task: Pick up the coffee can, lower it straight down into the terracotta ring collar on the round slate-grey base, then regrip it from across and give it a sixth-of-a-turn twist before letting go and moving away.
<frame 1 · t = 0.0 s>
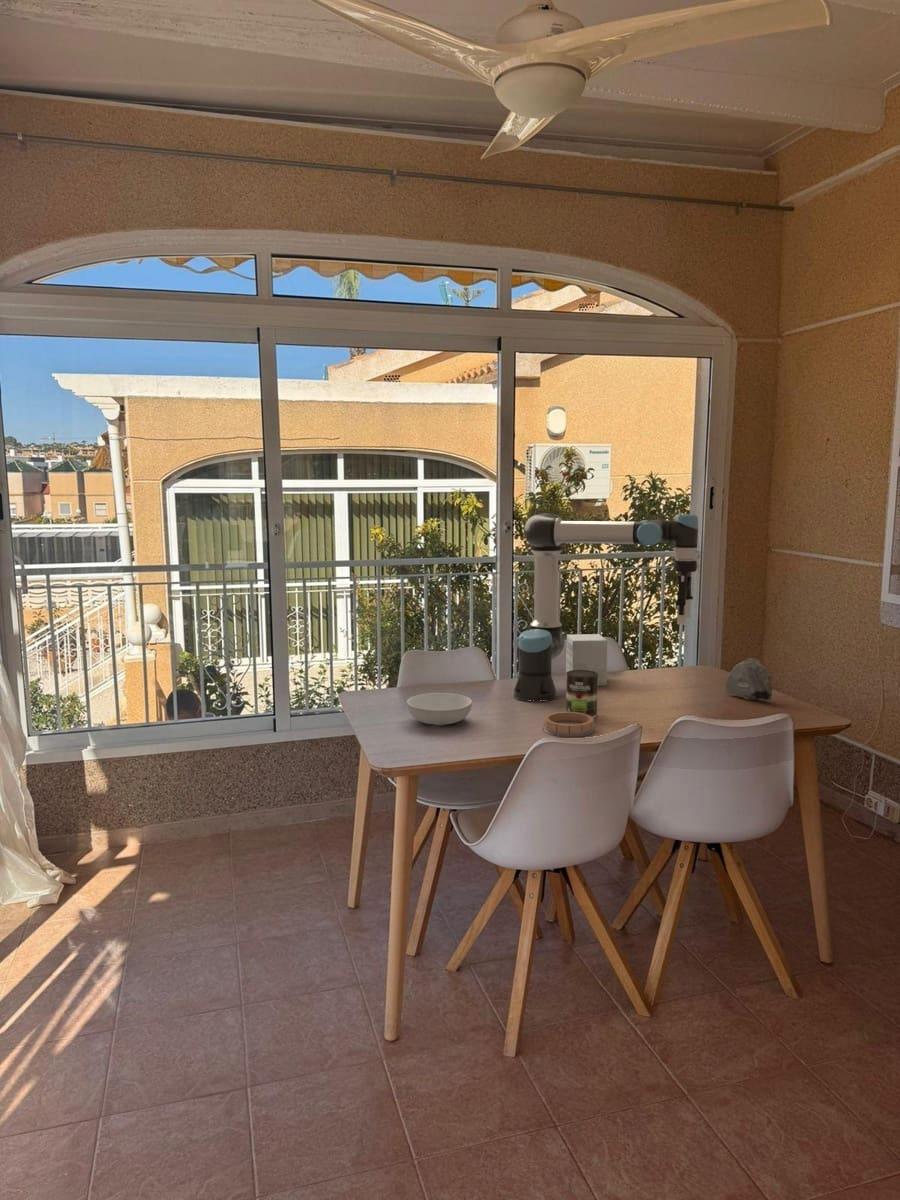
hand: (683, 621, 281), 28 cm above the table, tool pointing down, fingers open, 13 cm apart
supplement box: (585, 682, 312), on the table
serving bowl: (439, 722, 262), on the table
collar: (568, 729, 252), on the table
decorative rock: (747, 699, 285), on the table
coffee can: (581, 715, 268), on the table
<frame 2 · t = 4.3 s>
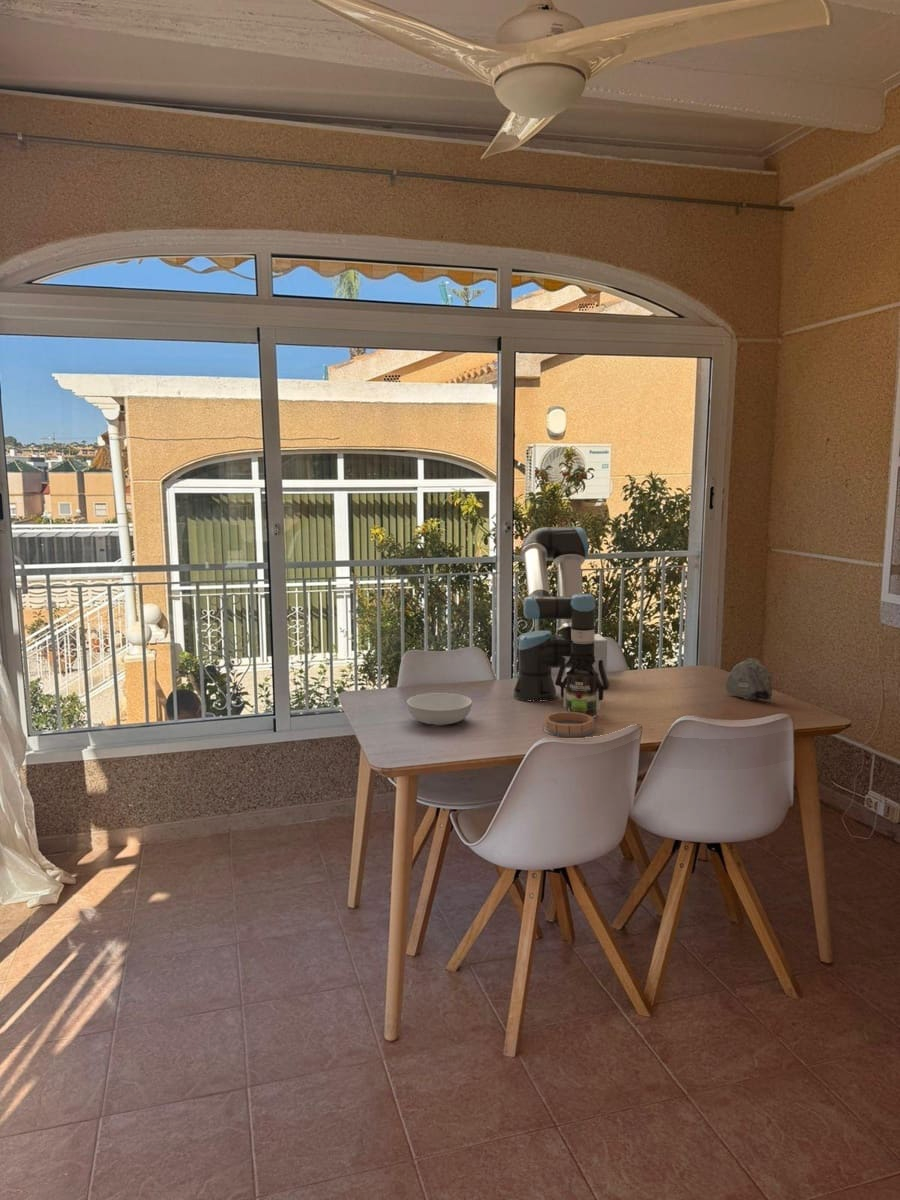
hand: (581, 708, 267), 2 cm above the table, tool pointing down, fingers closed on coffee can, 10 cm apart
coffee can: (581, 715, 268), on the table, touching gripper
everything else where it was.
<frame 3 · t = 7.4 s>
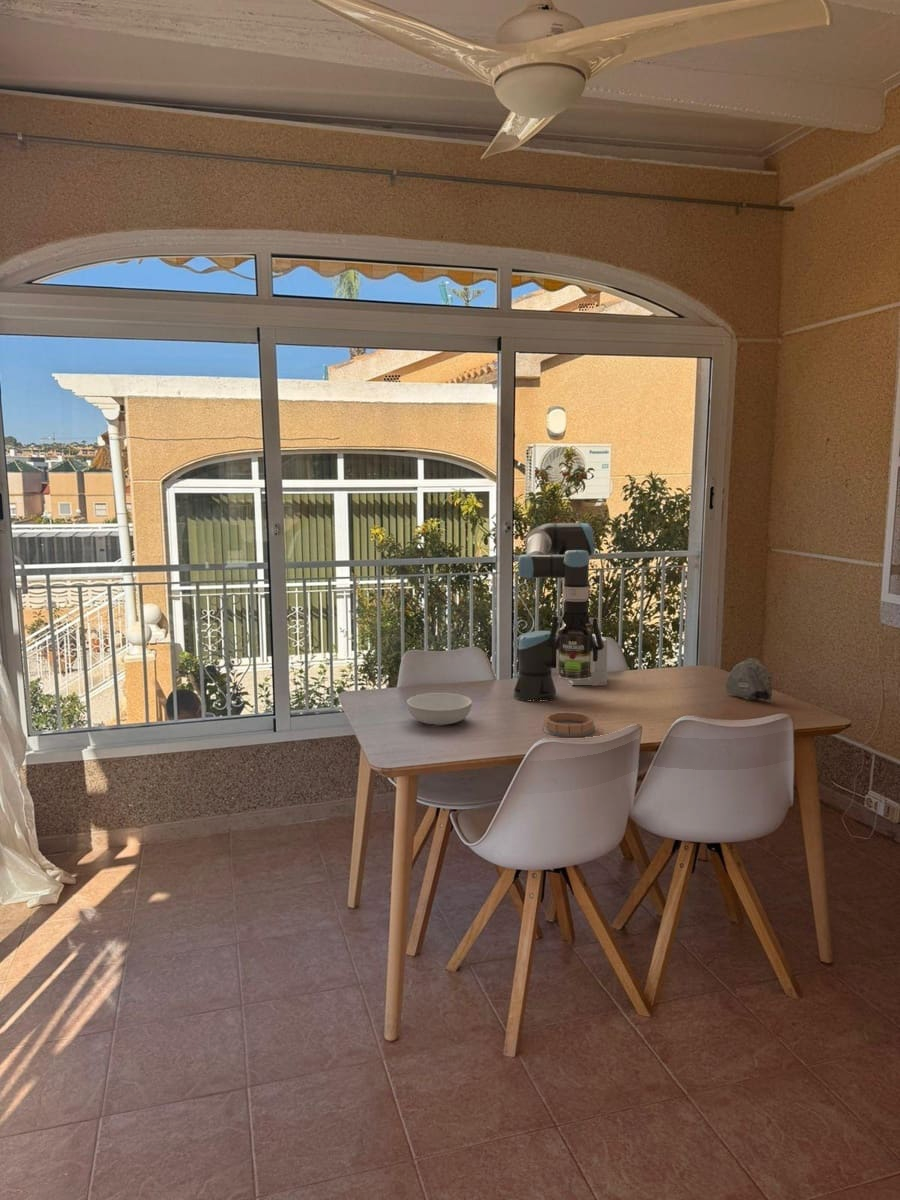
hand: (575, 670, 255), 17 cm above the table, tool pointing down, fingers closed on coffee can, 10 cm apart
coffee can: (575, 678, 256), point 15 cm above the table, touching gripper
everything else where it was.
when the fingers open (5 cm above the table, at t = 10.7 s): coffee can drops 1 cm, resting on collar.
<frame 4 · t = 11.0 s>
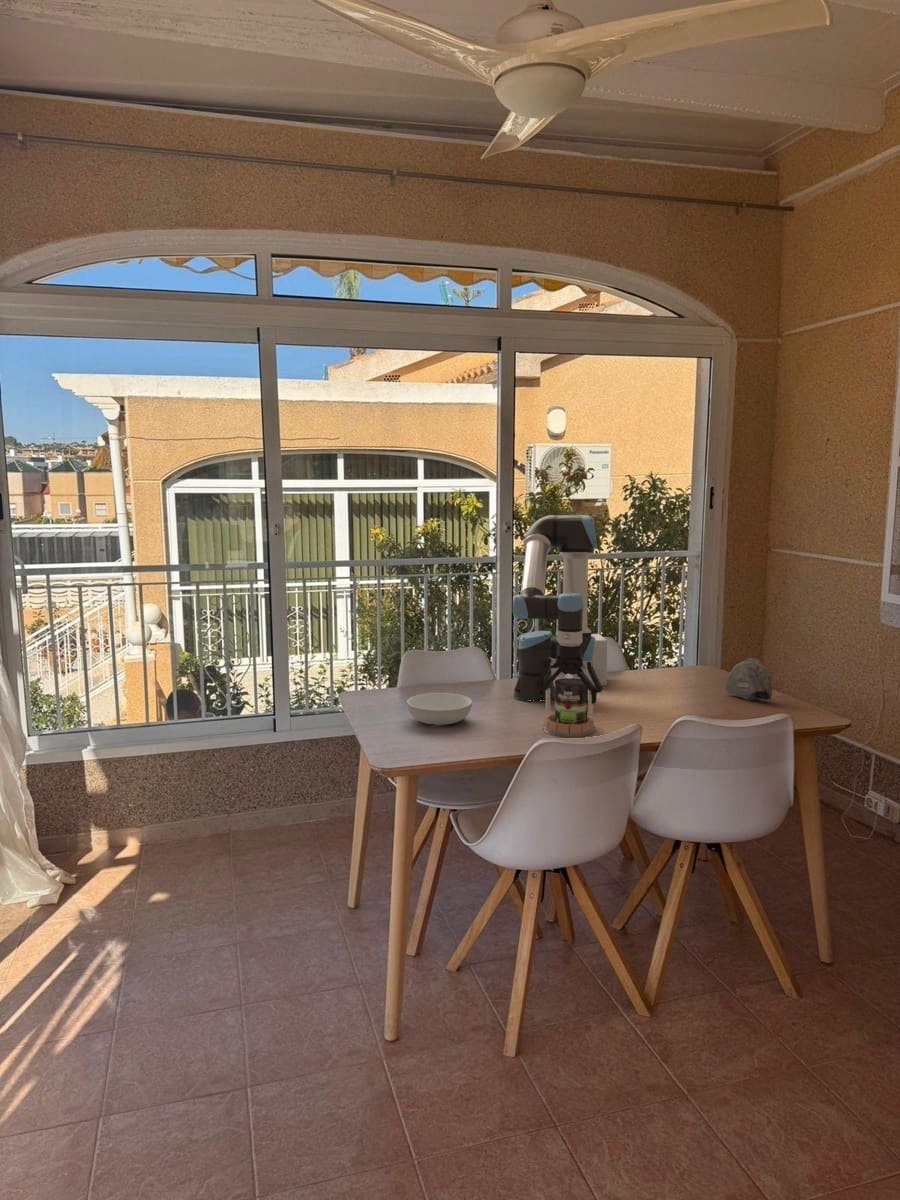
hand: (569, 711, 251), 6 cm above the table, tool pointing down, fingers open, 13 cm apart
coffee can: (571, 726, 252), point 1 cm above the table, touching collar
everything else where it was.
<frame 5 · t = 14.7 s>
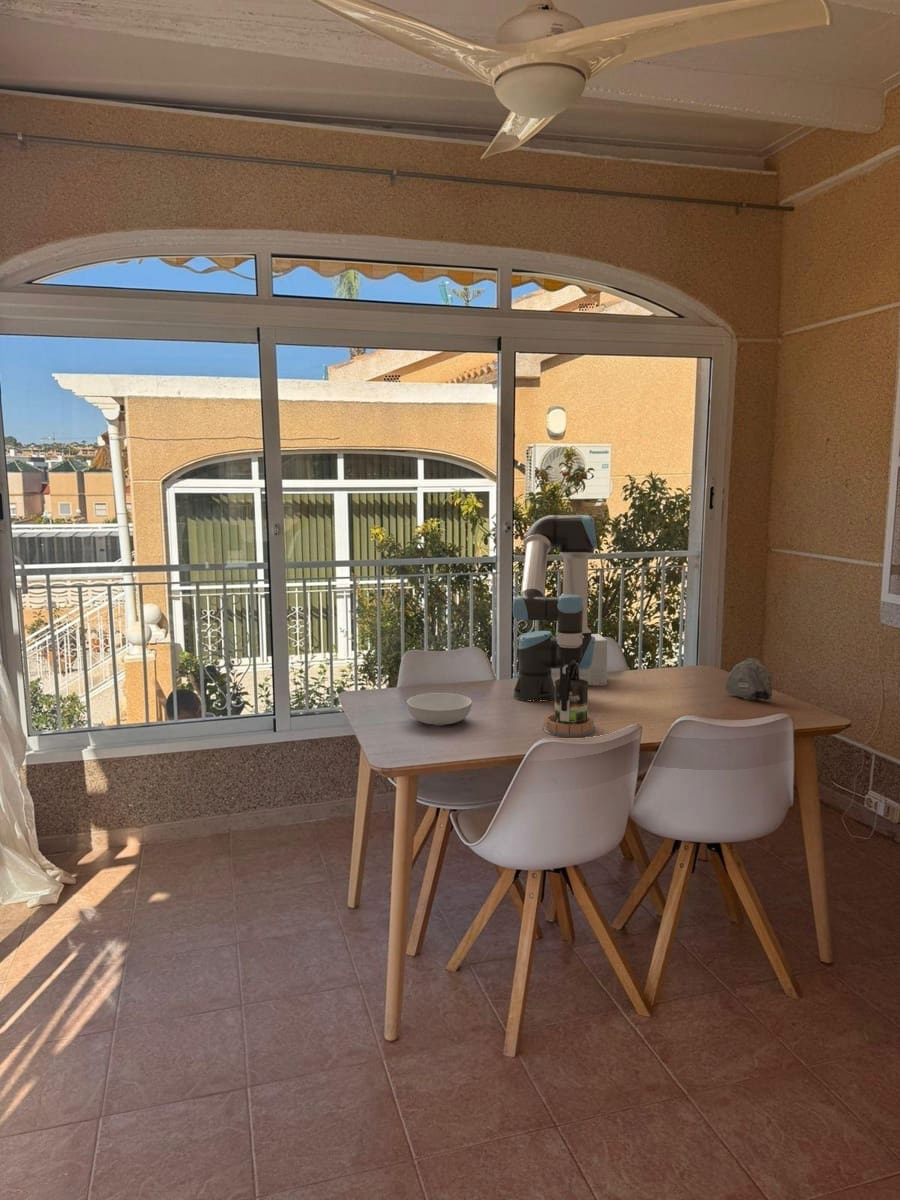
hand: (569, 716, 252), 4 cm above the table, tool pointing down, fingers closed on coffee can, 10 cm apart
coffee can: (571, 726, 252), point 1 cm above the table, touching collar, gripper
everything else where it was.
when the fingers open (4 cm above the table, at t = 15.9 s): coffee can stays where it is, resting on collar.
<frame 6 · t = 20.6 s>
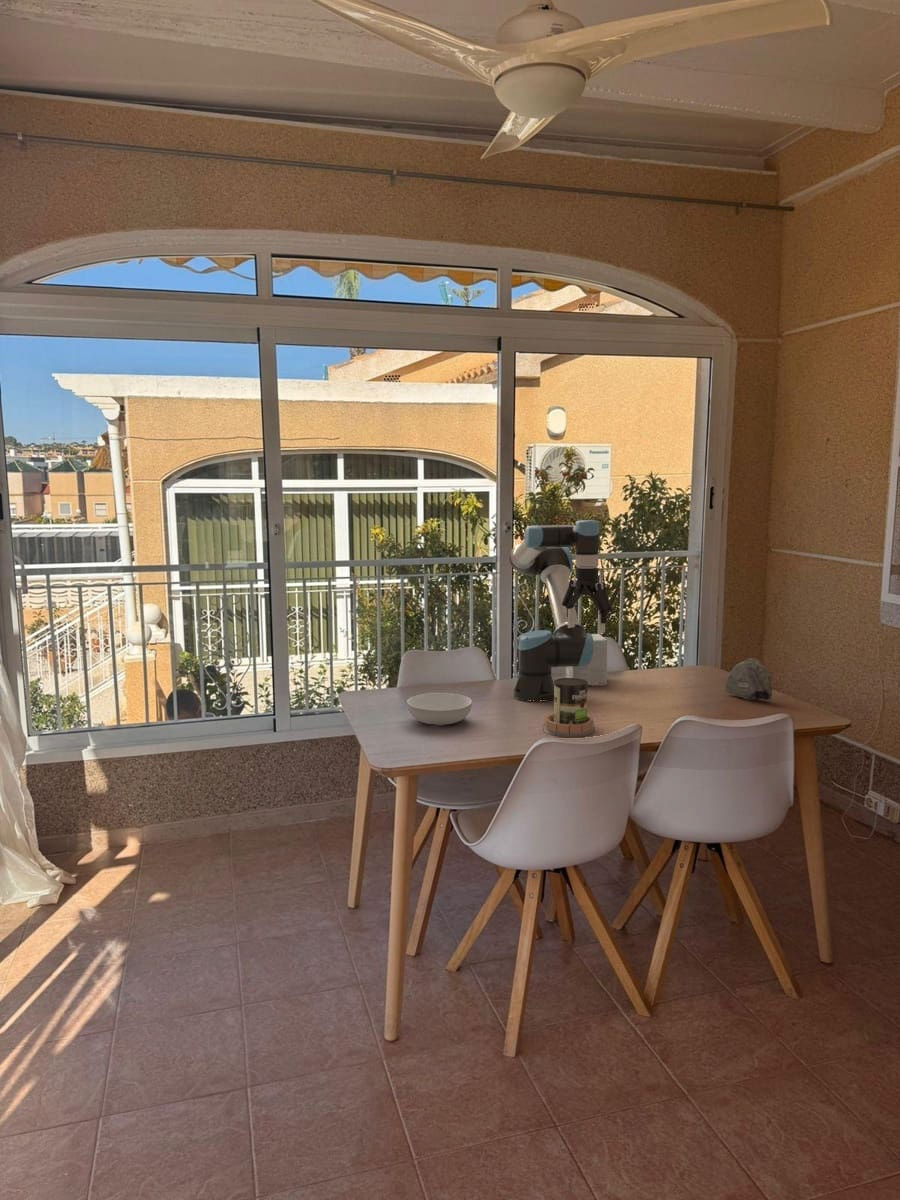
hand: (586, 630, 272), 27 cm above the table, tool pointing down, fingers open, 13 cm apart
coffee can: (570, 726, 252), point 1 cm above the table, touching collar
everything else where it was.
at the end: coffee can 0.7 cm from the collar (horizontally); coffee can tilted 0°; the gripper is holding nothing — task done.
